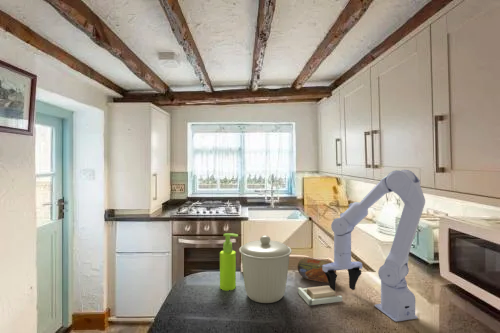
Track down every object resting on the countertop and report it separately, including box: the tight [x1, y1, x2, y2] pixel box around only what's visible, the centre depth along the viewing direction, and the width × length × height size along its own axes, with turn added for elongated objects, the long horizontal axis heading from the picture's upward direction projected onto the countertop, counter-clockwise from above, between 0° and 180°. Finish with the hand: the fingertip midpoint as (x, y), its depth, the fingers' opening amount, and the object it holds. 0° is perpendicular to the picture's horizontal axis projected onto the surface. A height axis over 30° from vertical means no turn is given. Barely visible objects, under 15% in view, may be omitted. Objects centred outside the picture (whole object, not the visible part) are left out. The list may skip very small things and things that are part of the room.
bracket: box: [297, 285, 343, 306], centre depth 98 cm, size 9×12×2 cm
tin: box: [297, 256, 337, 283], centre depth 113 cm, size 15×3×8 cm, turn 62°
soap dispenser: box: [219, 232, 239, 292], centre depth 106 cm, size 6×7×20 cm
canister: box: [238, 235, 293, 304], centre depth 99 cm, size 18×18×21 cm
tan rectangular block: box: [306, 285, 336, 299], centre depth 98 cm, size 5×8×3 cm, turn 104°
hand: (342, 290), depth 101 cm, fingers open, 7 cm apart
